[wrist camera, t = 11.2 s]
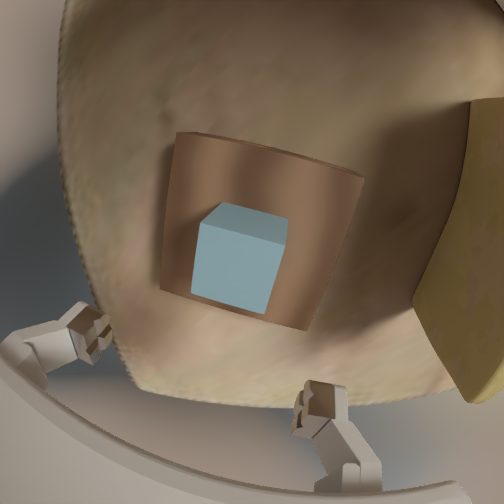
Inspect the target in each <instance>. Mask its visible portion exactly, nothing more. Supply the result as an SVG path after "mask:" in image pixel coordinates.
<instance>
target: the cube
mask: <svg viewBox="0 0 504 504" xmlns="http://www.w3.org/2000/svg"><path fill="white" fill-rule="evenodd" d="M288 221H289V219H287V218H283V217H279V216H276V215H272V214H268V213H265V212H261V211H257V210H253V209H249V208H245V207H242V206H238V205H234V204H230V203H226V202H222V203H221V204H220V205H219V206H218V207H217V208H215V209H214V210H213V211H212V212H211V213H210V214H209V215H208V216H207V217H206V218H205V219H204V220H203V221H201V222H200V227H199V234H198V241H197V248H196V255H195V262H194V270H193V278H192V286H191V293H192V294H195V295H198V296H202V297H205V298H208V299H211V300H215V301H218V302H221V303H225V304H228V305H232V306H235V307H239V308H242V309H246V310H249V311H253V312H257V313H260V314H264V313H265V310H266V307H267V304H268V301H269V298H270V294H271V291H272V288H273V285H274V282H275V278H276V275H277V272H278V269H279V265H280V262H281V259H282V255H283V252H284V249H285V245H286V237H287V229H288Z"/></svg>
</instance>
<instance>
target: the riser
mask: <svg viewBox="0 0 504 504" xmlns="http://www.w3.org/2000/svg"><path fill="white" fill-rule="evenodd" d="M364 181H365V178H363V177H362V176H360V175H359V174H357V173H356V172H354V171H351V170H348V169H345V168H342V167H339V166H336V165H333V164H330V163H326V162H323V161H320V160H316V159H313V158H309V157H306V156H302V155H299V154H295V153H291V152H288V151H284V150H280V149H276V148H272V147H268V146H263V145H259V144H255V143H250V142H246V141H241V140H236V139H231V138H226V137H221V136H215V135H210V134H204V133H198V132H178V133H177V134H176V140H175V146H174V152H173V158H172V164H171V171H170V178H169V186H168V194H167V202H166V211H165V221H164V231H163V243H162V257H161V274H160V289H161V290H164V291H167V292H170V293H173V294H176V295H179V296H183V297H186V298H189V299H192V300H195V301H198V302H201V303H205V304H208V305H211V306H214V307H218V308H221V309H225V310H228V311H231V312H235V313H238V314H242V315H245V316H249V317H253V318H256V319H260V320H264V321H267V322H271V323H275V324H279V325H283V326H287V327H291V328H295V329H299V330H303V331H307V330H308V327H309V325H310V323H311V321H312V319H313V316H314V314H315V312H316V310H317V307H318V305H319V303H320V300H321V298H322V296H323V293H324V291H325V289H326V286H327V284H328V281H329V279H330V276H331V274H332V271H333V269H334V266H335V264H336V261H337V259H338V256H339V253H340V251H341V248H342V246H343V243H344V240H345V237H346V235H347V232H348V229H349V226H350V224H351V221H352V218H353V215H354V212H355V209H356V206H357V203H358V200H359V197H360V194H361V191H362V188H363V185H364ZM222 202H226V203H230V204H234V205H238V206H242V207H245V208H249V209H253V210H257V211H261V212H265V213H268V214H272V215H276V216H279V217H283V218H287V219H289V221H288V229H287V237H286V245H285V249H284V252H283V255H282V259H281V262H280V265H279V269H278V272H277V275H276V278H275V282H274V285H273V288H272V291H271V294H270V298H269V301H268V304H267V307H266V310H265V313H264V314H260V313H257V312H253V311H249V310H246V309H242V308H239V307H235V306H232V305H228V304H225V303H221V302H218V301H215V300H211V299H208V298H205V297H202V296H198V295H195V294H192V293H191V286H192V278H193V270H194V262H195V255H196V248H197V241H198V234H199V227H200V222H201V221H203V220H204V219H205V218H206V217H207V216H208V215H209V214H210V213H211V212H212V211H213V210H214V209H215V208H217V207H218V206H219V205H220V204H221V203H222Z"/></svg>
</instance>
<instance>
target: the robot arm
mask: <svg viewBox="0 0 504 504" xmlns="http://www.w3.org/2000/svg"><path fill="white" fill-rule="evenodd" d="M496 1H497V3H498V4H499V5H500V6H501V8H502V9H503V11H504V0H496ZM110 322H111V319H110V315H108V314H106V313H105V312H103V311H101V310H99V309H97V308H95V307H93V306H91V305H89V304H87V303H85V302H83V301H79V302H77V303H76V304H75V305H74V306H73V307H72V308H71V309H70V310H69V311H68V312H66V313H65V314H64V315H63V316H62V317H61V318H60V319H59V320H58V321H56V320H53V321H49V322H46V323H42V324H39V325H35V326H31V327H27V328H24V329H20V330H16V331H13V332H12V333H11V334H10V335H9V336H8V337H7V338H6V339H5V340H4V341H3V342H2V343H1V344H0V504H472V500H471V498H470V497H469V495H468V494H467V493H466V492H465V490H464V489H463V488H462V487H461V486H460V485H459V484H458V483H457V482H456V481H452V480H450V481H444V482H440V483H435V484H431V485H426V486H420V487H414V488H408V489H400V490H391V491H382V468H381V462H380V460H379V459H378V458H377V456H376V455H375V454H374V452H373V451H372V449H371V448H370V446H369V445H368V444H367V442H366V441H365V440H364V438H363V437H362V435H361V434H360V433H359V431H358V430H357V428H356V427H355V426H354V424H353V423H352V421H348V407H347V391H346V387H345V386H340V385H334V384H330V383H324V382H318V381H313V380H307V381H306V383H305V384H304V390H302V391H300V392H299V394H298V396H297V398H296V401H295V405H294V414H295V416H296V417H295V419H294V420H293V421H292V429H291V436H295V437H301V438H306V439H311V442H312V444H313V446H314V448H315V450H316V452H317V454H318V456H319V458H320V460H321V462H322V464H323V466H324V468H325V470H326V472H327V474H328V475H327V476H325V477H324V478H322V479H320V480H319V481H317V482H315V485H314V492H307V491H296V490H287V489H280V488H272V487H266V486H260V485H255V484H250V483H245V482H240V481H236V480H232V479H227V478H223V477H219V476H216V475H212V474H208V473H205V472H202V471H199V470H196V469H193V468H190V467H187V466H184V465H181V464H178V463H175V462H173V461H170V460H167V459H165V458H162V457H160V456H157V455H154V454H152V453H150V452H148V451H145V450H143V449H141V448H139V447H137V446H134V445H132V444H130V443H128V442H126V441H124V440H122V439H120V438H118V437H116V436H114V435H112V434H111V433H109V432H107V431H105V430H103V429H101V428H100V427H98V426H96V425H94V424H93V423H91V422H89V421H88V420H86V419H85V418H83V417H81V416H80V415H78V414H77V413H75V412H73V411H72V410H70V409H69V408H68V407H66V406H65V405H63V404H62V403H60V402H59V401H57V400H56V399H54V398H53V397H52V396H51V395H49V394H48V393H47V392H45V390H46V389H47V387H48V386H49V381H48V379H47V377H46V375H45V373H47V372H50V371H52V370H54V369H56V368H58V367H60V366H63V365H65V364H67V363H69V362H71V361H74V360H76V359H77V358H80V359H81V360H84V361H85V362H87V363H89V364H91V365H94V364H95V362H96V361H97V360H98V358H99V357H100V356H101V350H104V349H106V348H107V347H108V346H109V344H110V342H111V340H112V336H113V331H112V328H111V326H110V325H109V323H110Z"/></svg>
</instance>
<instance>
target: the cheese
mask: <svg viewBox="0 0 504 504" xmlns="http://www.w3.org/2000/svg"><path fill="white" fill-rule="evenodd" d="M412 306H413V308H414V310H415V312H416V314H417V316H418V318H419V320H420V322H421V324H422V327H423V329H424V331H425V333H426V335H427V337H428V339H429V341H430V343H431V344H432V346H433V348H434V350H435V352H436V353H437V355H438V357H439V358H440V360H441V361H442V363H443V365H444V366H445V368H446V369H447V371H448V373H449V374H450V376H451V377H452V379H453V381H454V382H455V384H456V386H457V388H458V389H459V391H460V393H461V395H462V397H463V398H464V400H465V401H466V402H468V403H476V404H479V403H482V402H485V401H486V400H488V399H490V398H491V397H493V396H494V395H495V394H496V393H497V392H499V390H501V388H503V387H504V98H484V99H476V100H472V102H471V106H470V118H469V129H468V138H467V146H466V153H465V159H464V165H463V170H462V175H461V179H460V183H459V188H458V191H457V195H456V198H455V202H454V205H453V208H452V210H451V213H450V216H449V218H448V221H447V223H446V225H445V228H444V230H443V232H442V234H441V236H440V238H439V241H438V243H437V245H436V247H435V249H434V252H433V254H432V256H431V258H430V261H429V263H428V265H427V267H426V270H425V272H424V274H423V276H422V278H421V280H420V282H419V285H418V287H417V289H416V291H415V293H414V295H413V298H412Z"/></svg>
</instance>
